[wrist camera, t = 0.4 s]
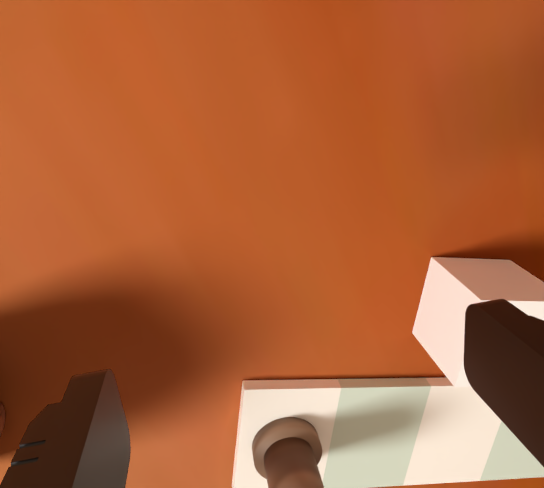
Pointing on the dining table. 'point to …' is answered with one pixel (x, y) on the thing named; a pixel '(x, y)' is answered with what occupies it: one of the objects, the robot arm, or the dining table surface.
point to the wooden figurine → (2, 418)
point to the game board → (385, 432)
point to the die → (459, 295)
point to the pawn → (288, 454)
